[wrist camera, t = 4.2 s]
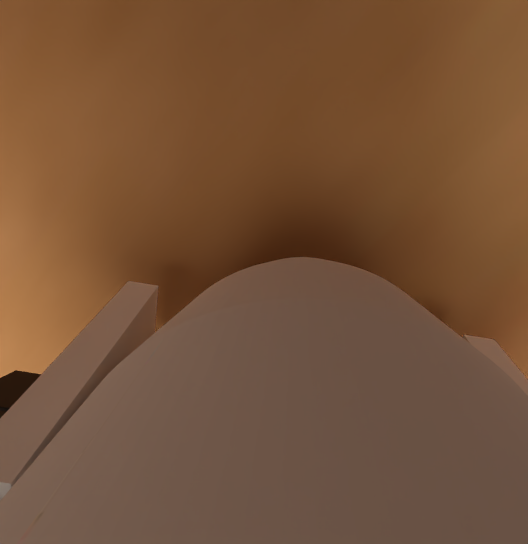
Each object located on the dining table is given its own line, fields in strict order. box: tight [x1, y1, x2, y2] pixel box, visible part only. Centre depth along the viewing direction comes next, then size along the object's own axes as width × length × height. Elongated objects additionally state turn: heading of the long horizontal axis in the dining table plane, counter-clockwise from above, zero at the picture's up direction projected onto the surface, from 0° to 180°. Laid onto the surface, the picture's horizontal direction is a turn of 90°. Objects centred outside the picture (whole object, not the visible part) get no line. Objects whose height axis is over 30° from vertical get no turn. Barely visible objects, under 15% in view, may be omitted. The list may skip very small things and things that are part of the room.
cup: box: [0, 257, 528, 544], centre depth 8 cm, size 8×8×10 cm
